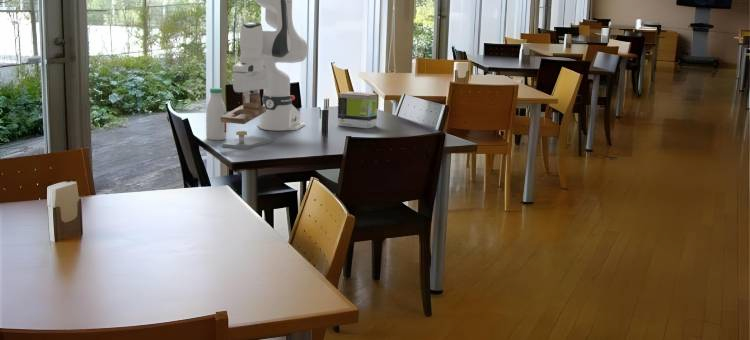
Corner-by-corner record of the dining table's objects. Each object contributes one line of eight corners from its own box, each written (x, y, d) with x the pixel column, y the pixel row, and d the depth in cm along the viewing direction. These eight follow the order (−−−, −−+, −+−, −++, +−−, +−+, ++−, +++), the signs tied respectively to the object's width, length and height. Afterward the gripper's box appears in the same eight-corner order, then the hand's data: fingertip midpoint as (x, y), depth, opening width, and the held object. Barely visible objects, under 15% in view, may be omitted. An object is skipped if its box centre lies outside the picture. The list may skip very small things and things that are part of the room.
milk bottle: (222, 141, 333) (221, 90, 329) (203, 139, 334) (202, 88, 330) (229, 138, 340) (229, 87, 336) (210, 136, 342) (210, 86, 337)
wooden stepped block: (243, 109, 332) (241, 92, 330) (266, 111, 329) (264, 94, 326) (220, 121, 319) (218, 103, 316) (243, 124, 315) (242, 106, 312)
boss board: (250, 138, 340) (250, 125, 339) (272, 141, 336) (272, 127, 335) (222, 146, 322) (222, 132, 321) (245, 149, 318) (245, 135, 317)
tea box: (377, 126, 381) (378, 93, 378) (367, 129, 372) (368, 95, 369) (347, 122, 387) (347, 90, 384) (336, 125, 378) (337, 92, 375)
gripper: (258, 63, 335) (258, 98, 338) (229, 67, 317) (229, 104, 320) (272, 64, 333) (272, 99, 336) (244, 68, 315) (244, 105, 317)
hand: (251, 102), depth 328 cm, fingers closed on wooden stepped block, 3 cm apart
